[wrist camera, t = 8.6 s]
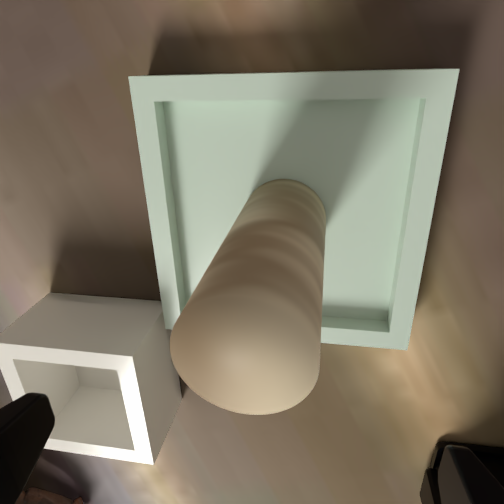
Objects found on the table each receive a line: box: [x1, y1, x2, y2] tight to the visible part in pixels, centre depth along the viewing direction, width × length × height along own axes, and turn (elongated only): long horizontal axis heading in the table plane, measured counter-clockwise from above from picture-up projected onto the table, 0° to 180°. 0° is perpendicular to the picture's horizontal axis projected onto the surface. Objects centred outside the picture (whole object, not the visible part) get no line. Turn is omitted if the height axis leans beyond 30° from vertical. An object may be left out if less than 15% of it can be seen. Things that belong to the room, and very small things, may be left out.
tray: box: [128, 68, 459, 350], centre depth 19 cm, size 13×13×2 cm
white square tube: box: [0, 293, 182, 465], centre depth 24 cm, size 8×8×5 cm
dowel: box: [170, 179, 326, 415], centre depth 15 cm, size 4×4×10 cm
